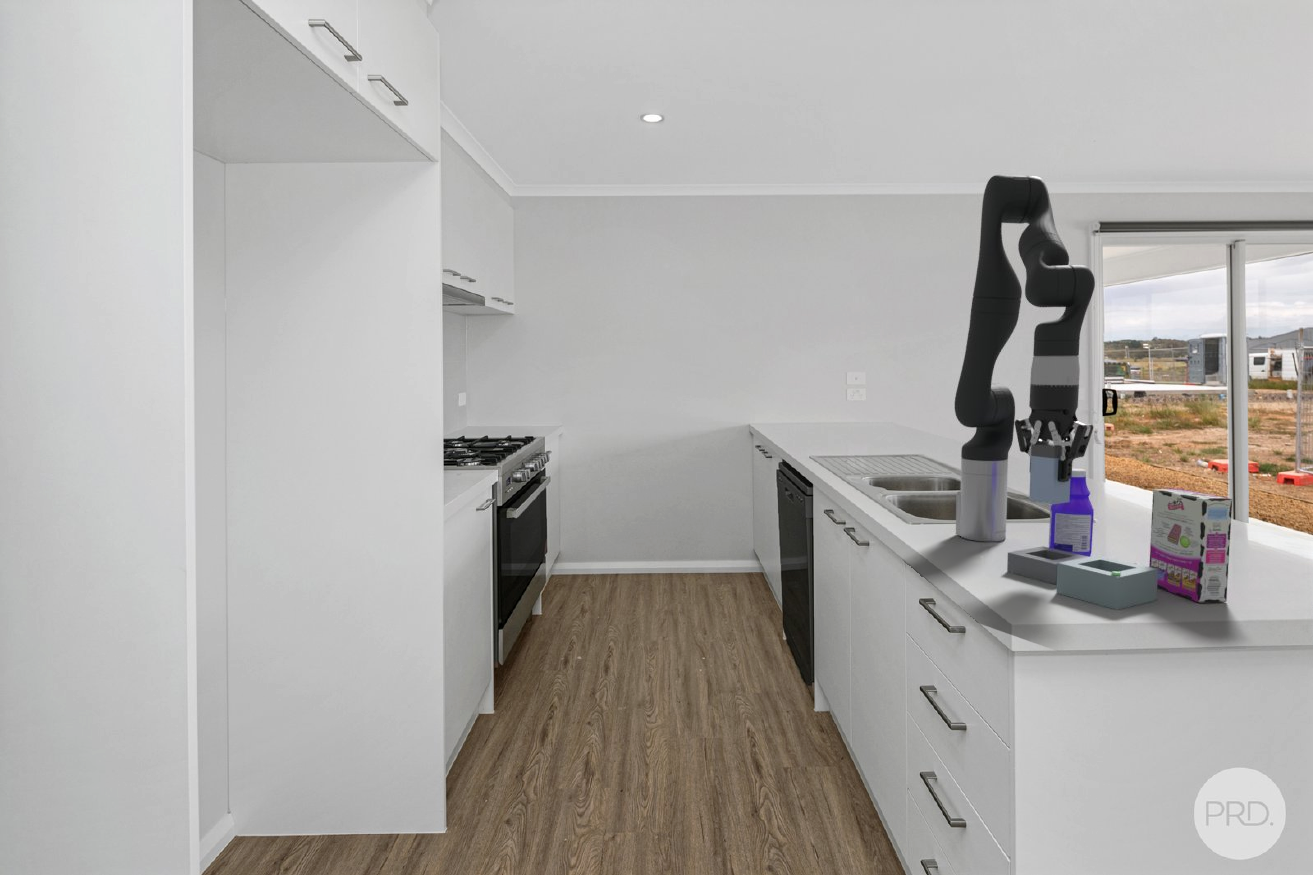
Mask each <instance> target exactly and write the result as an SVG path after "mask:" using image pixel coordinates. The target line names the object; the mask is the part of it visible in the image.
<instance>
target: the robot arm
mask: <svg viewBox="0 0 1313 875" xmlns="http://www.w3.org/2000/svg"><path fill="white" fill-rule="evenodd" d="M1050 198H1051V197H1050V194H1049V190H1048V187H1047V184H1046V182H1045V181H1044V180H1043V179H1042V178H1041V177H1039V176H1035V175H1020V174H1019V175H1017V174H1016V175H1015V174H1011V175H1010V174H995V175H993V176H992V177H990V178H989V180H987V183H986V185H985V189H984V192H983V197H982V207H981V221H980V235H979V236H980V237H979V238H980V240H979V249H978V250H979V251H978V260H977V269H976V275H975V281H974V287H973V293H972V300H971V308H970V309H971V310H970V316H969V326H968V331H967V332H968V333H967V340H966V346H965V352H964V357H963V362H962V366H961V371H960V375H959V379H958V384H957V388H956V392H955V397H954V412H955V413H954V414H955V416H956V419H957V420H958V422H959V423H960V424H961V425H962V426H964V427H965V428H976V429H975V433H974V435H973V436H972V437H971V439H969V441H967V442H965V443H964V444H963V445H962V447H961V454H960V458H961V459H960V460H961V461H960V462H961V463H960V464H961V465H960V490H959V491H957V492H956V502H955V503H956V506H955V507H956V508H955V510H956V511H955V535H956V534H957V536H959V537H960V536H961V538H962V539H965V540H971V541H977V542H1000V541H1001V542H1002V541H1005V540H1006V537H1007V536H1006V534H1007V508H1008V506H1007V503H1008V502H1007V501H1008V477H1009V476H1008V474H1009V472H1008V471H1009V470H1008V468H1009V464H1008V462H1009V460H1008V459H1009V451H1010V450H1011V447H1012V446H1013V441H1014V440H1013V439H1014V430H1015V432H1016V437H1017V438H1016V439H1017V442H1018V446H1019V451H1020V452H1021V453H1026V454H1028V456H1029V469H1030V468H1031V445H1032V444H1035V445H1037V444H1048V443H1050V441H1051V442H1053V444H1054V446H1055V447H1058V456H1059V459H1060V461H1058V481H1059V482H1068V481H1069V479H1071V476H1072V468H1073V462H1074V460H1076V459H1078V458H1079V459H1080V458H1083V457H1085V455H1086V451H1087V448H1088V446H1089V442H1090V441H1091V440H1090V439H1091V437H1092V433H1093V431H1094V425H1093V424H1091V423H1084V422H1080V421H1079V420H1078V418H1077V414H1076V413H1077V409H1078V408H1079V391H1080V390H1079V389H1080V374H1081V372H1080V371H1081V369H1080V338H1081V332H1082V326H1083V323H1084V320H1085V318H1086V317H1085V316H1086V313H1087V311H1088V307H1089V305H1090V303H1091V300H1092V297H1093V294H1094V290H1095V286H1096V281H1095V280H1096V279H1095V276H1094V273H1093V271H1092V270H1091V269H1090V268H1089V267H1088V266H1086V265H1083V264H1082V265H1081V264H1078V265H1077V264H1073V265H1072V264H1071V265H1069V262H1070V256H1069V253H1068V251H1067V249H1066V247H1065V245H1064V243H1063V241H1062V239H1061V237H1060V235H1059V233H1058V231H1057V228H1056V224H1055V218H1054V213H1053V208H1052V204H1051V200H1050ZM1003 224H1016V225H1017V224H1020V225H1021V224H1028V225H1027V226H1026V227H1025V228H1024V230H1023V231H1022V233H1021V235H1020V237H1019V240H1018V244H1017V246H1018V253H1019V257H1020V259H1021V261H1022V263H1023V266H1024V268H1025V272H1026V273H1025V274H1026V276H1025V277H1026V280H1025V286H1024V288H1025V289H1024V294H1025V298H1026V301H1027V302H1028V303H1029V304H1031V305H1032V306H1034V307H1036V308H1064V312H1063V314H1062V315H1061V316H1060V317H1059V318H1057V319H1054V320H1048V321H1043V322H1040V323H1038V324H1037V325H1036V326H1035V329H1034V331H1033V355H1032V356H1033V357H1032V362H1031V367H1030V381H1029V382H1030V384H1029V386H1030V388H1029V408H1030V409H1031V412H1030V414H1029V416H1028V417H1026V418H1024V419H1023V418H1021V419H1016V420H1015V418H1016V404H1015V403H1016V401H1015V398H1014V394H1013V392H1012V391H1011V389H1010V388H1009V387H1008V386H1006V385H1004V384H1001V383H992V381H993V374H994V369H995V365H996V361H997V360H998V358H999V355H1000V353H1001V352H1002V351H1003V349H1004V347H1005V346H1006V344H1007V343H1008V341H1009V339H1010V338H1011V336H1012V334H1013V333H1014V331H1015V329H1016V327H1017V323H1018V321H1019V315H1020V308H1021V303H1022V295H1023V293H1022V292H1023V290H1022V286H1021V283H1020V280H1019V277H1018V276H1017V273H1016V271H1015V269H1014V267H1013V266H1012V264H1011V262H1010V260H1009V258H1008V256H1007V252H1006V250H1005V247H1004V244H1003V237H1002V236H1003V235H1002V233H1003V232H1002V229H1003V228H1002V226H1003ZM1032 430H1033V432H1032ZM1072 432H1073V434H1074V437H1073V436H1072ZM1065 447H1066V450H1065Z"/></svg>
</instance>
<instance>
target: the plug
mask: <svg viewBox="0 0 1313 875" xmlns="http://www.w3.org/2000/svg"><path fill="white" fill-rule="evenodd" d="M1065 450H1066V447H1065ZM1058 461H1060V459H1059V456H1058V447H1055V446H1054V443H1051V442H1049V443H1048V444H1037V445H1035V444H1032V445H1031V468H1030V467H1029V497H1028V498H1029V500H1028V501H1031V502H1034V503H1035V502H1036V503H1037V502H1038V503H1043V504H1048V505H1052V504H1059V503H1066V502H1069V500H1070V479H1069V481H1068V482H1059V481H1058Z"/></svg>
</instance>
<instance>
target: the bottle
mask: <svg viewBox="0 0 1313 875" xmlns="http://www.w3.org/2000/svg"><path fill="white" fill-rule="evenodd" d="M1090 494H1091V491H1090V490H1089V488H1088V485H1087V470H1086V469H1084V468H1077V467H1076V468H1075V467H1072V476H1071V479H1070V500H1069V502H1066V503H1059V504H1050V510H1049V511H1050V513H1049V532H1048V548H1052V549H1057V550H1061V551H1066V552H1070V553H1075V554H1079V555H1084V556H1088V557H1091V555H1092V548H1093V532H1094V531H1093V530H1094V516H1095V515H1094V514H1095V513H1094V510H1095V509H1094V508H1093V505H1092V502H1091V499H1090Z"/></svg>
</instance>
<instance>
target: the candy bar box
mask: <svg viewBox="0 0 1313 875" xmlns="http://www.w3.org/2000/svg"><path fill="white" fill-rule="evenodd" d="M1233 501H1234V500H1233V499H1232V498H1229V497H1222V496H1218V495H1214V494H1208V493H1203V492H1198V491H1191V490H1186V489H1182V488H1181V489H1179V488H1156V489H1152V506H1151V508H1152V509H1151V524H1150V525H1151V527H1150V528H1151V530H1150V543H1149V544H1150V546H1149V564H1148V567H1151V568H1156V569H1158V580H1157V589H1161V590H1164V591H1166V592H1168V593H1171V594H1174V595H1178V596H1180V597H1183V598H1186V599H1188V600H1191V601H1193V602H1196V603H1198V604H1199V603H1200V604H1201V603H1205V604H1206V603H1207V604H1208V603H1212V604H1213V603H1226V602H1227V601H1228V600H1227V599H1228V598H1227V597H1228V580H1229V564H1230V563H1229V562H1230V546H1231V545H1230V544H1231V531H1232V530H1231V528H1232V526H1231V525H1232V513H1233V511H1232V510H1233Z"/></svg>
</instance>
